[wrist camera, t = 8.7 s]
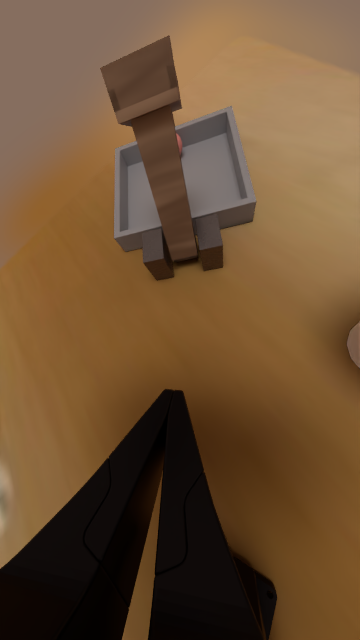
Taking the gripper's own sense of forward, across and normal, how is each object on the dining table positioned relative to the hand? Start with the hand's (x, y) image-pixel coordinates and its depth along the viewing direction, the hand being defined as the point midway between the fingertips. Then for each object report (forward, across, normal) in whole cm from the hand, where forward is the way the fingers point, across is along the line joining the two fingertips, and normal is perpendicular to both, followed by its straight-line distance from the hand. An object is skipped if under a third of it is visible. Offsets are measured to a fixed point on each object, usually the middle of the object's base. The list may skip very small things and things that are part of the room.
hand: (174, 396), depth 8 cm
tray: (+27, +3, -13) cm, 30 cm away
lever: (+19, +1, -4) cm, 20 cm away
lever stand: (+19, +1, -3) cm, 20 cm away
